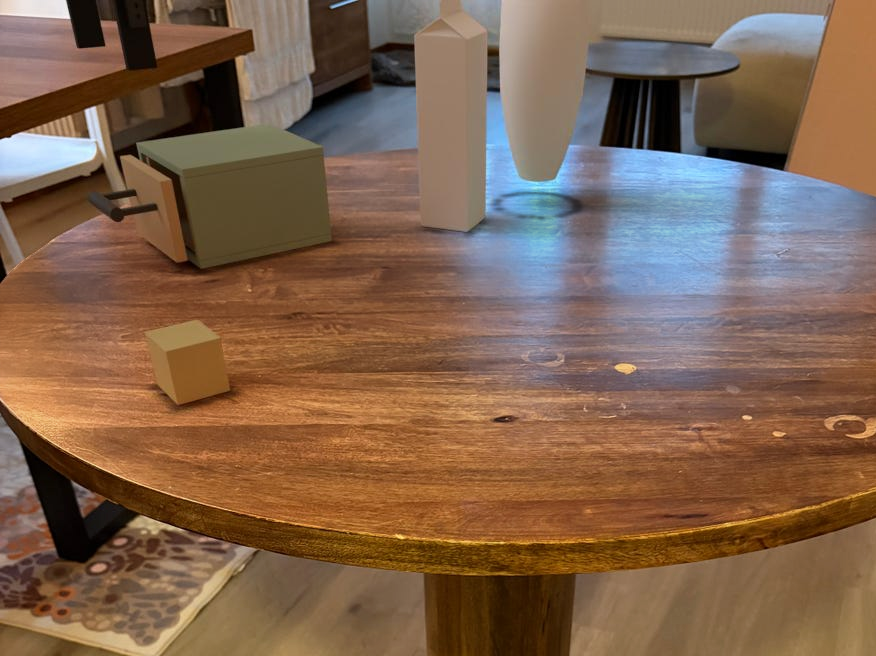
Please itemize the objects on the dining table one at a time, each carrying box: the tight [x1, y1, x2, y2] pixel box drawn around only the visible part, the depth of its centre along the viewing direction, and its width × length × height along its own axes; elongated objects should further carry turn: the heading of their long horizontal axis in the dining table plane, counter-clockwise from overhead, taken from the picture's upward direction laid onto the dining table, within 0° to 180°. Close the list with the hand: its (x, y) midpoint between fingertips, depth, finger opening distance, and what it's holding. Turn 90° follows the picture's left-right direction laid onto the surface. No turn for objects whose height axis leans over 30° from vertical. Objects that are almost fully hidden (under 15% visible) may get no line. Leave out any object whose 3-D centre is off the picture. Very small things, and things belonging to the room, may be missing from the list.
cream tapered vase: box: [498, 0, 591, 183], centre depth 107 cm, size 10×10×22 cm
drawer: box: [87, 154, 195, 264], centre depth 97 cm, size 19×11×8 cm, turn 126°
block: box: [144, 319, 231, 406], centre depth 74 cm, size 4×4×4 cm
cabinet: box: [135, 123, 333, 270], centre depth 100 cm, size 16×13×10 cm
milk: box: [413, 0, 488, 233], centre depth 101 cm, size 6×6×22 cm
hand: (115, 58), depth 89 cm, fingers open, 13 cm apart
